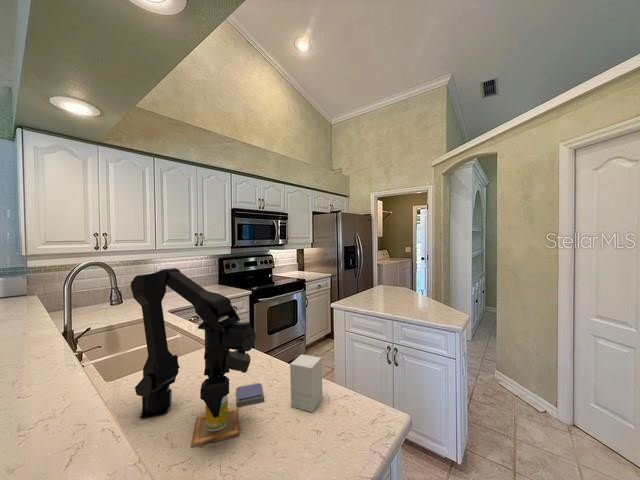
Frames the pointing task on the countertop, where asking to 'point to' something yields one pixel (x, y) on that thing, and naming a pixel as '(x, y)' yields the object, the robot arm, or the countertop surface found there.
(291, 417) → the countertop surface
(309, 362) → the supplement box
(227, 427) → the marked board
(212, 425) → the supplement bottle
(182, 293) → the robot arm
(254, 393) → the ink pad
